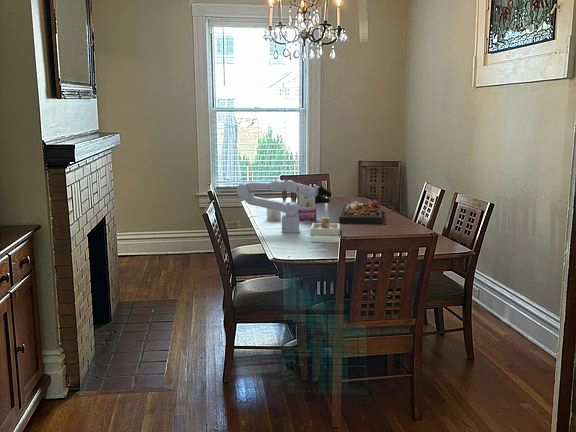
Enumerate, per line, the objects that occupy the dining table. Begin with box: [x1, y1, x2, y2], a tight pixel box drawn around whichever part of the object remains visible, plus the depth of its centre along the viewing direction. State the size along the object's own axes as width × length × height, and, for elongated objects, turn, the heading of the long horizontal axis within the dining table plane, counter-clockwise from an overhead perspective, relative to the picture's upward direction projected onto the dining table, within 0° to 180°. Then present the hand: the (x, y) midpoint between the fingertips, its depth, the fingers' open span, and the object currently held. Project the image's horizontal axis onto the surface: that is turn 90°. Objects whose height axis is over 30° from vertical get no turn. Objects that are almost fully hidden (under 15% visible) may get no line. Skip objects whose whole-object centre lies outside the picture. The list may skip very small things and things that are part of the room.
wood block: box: [321, 216, 330, 228], centre depth 310 cm, size 4×4×6 cm
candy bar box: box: [296, 194, 317, 222], centre depth 346 cm, size 11×5×16 cm, turn 101°
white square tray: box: [310, 222, 341, 236], centre depth 311 cm, size 15×15×4 cm
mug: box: [266, 208, 282, 221], centre depth 351 cm, size 12×10×9 cm
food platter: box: [338, 198, 383, 225], centre depth 356 cm, size 45×25×10 cm, turn 171°
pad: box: [310, 235, 341, 244], centre depth 293 cm, size 14×14×1 cm
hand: (330, 198), depth 308 cm, fingers open, 7 cm apart
